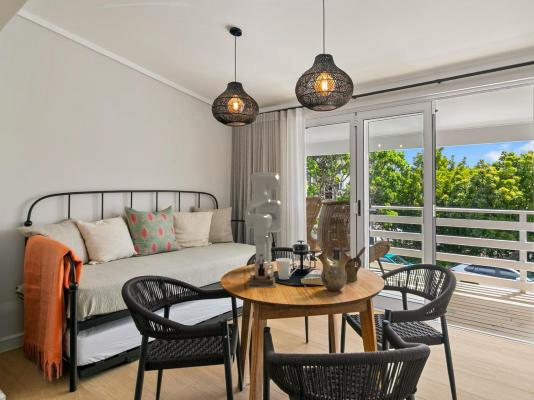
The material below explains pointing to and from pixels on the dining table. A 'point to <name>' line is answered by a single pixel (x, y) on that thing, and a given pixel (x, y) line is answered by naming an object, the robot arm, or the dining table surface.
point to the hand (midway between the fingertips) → (261, 273)
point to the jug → (265, 271)
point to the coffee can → (339, 253)
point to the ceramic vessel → (333, 269)
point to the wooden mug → (353, 267)
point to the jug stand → (261, 282)
